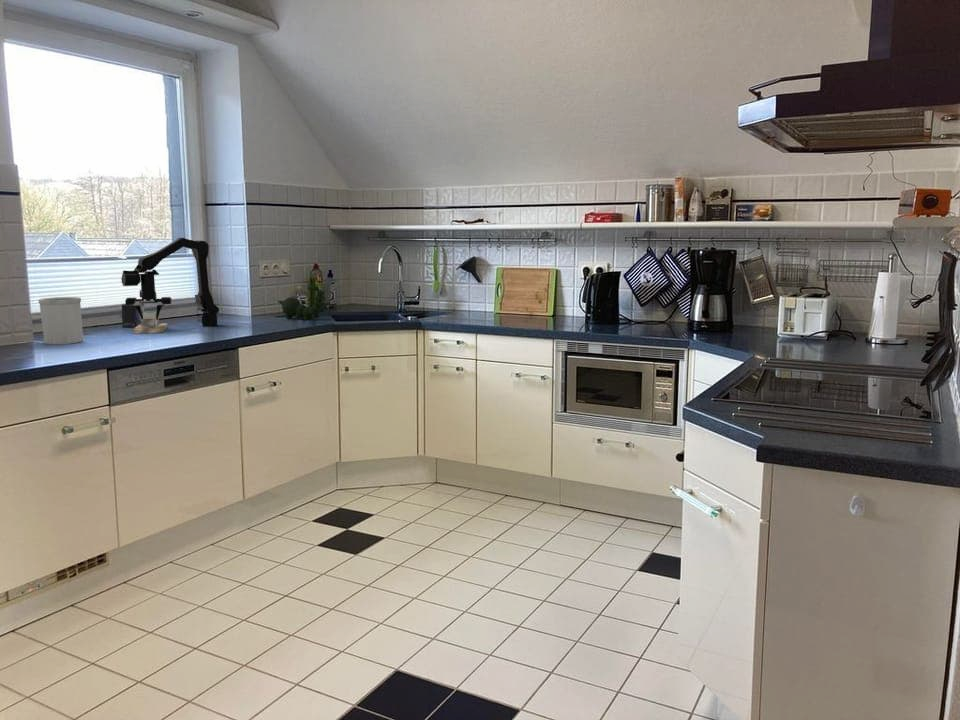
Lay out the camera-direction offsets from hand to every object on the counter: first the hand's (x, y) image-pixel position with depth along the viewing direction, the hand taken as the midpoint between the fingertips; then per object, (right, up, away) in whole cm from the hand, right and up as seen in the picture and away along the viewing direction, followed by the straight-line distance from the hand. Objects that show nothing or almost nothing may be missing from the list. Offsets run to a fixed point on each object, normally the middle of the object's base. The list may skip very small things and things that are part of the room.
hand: (150, 320), depth 344 cm
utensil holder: (-19, -11, -37) cm, 43 cm away
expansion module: (0, -3, 0) cm, 3 cm away
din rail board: (0, -4, +1) cm, 4 cm away
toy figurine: (+57, +3, +47) cm, 74 cm away
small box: (-14, -2, +14) cm, 20 cm away
